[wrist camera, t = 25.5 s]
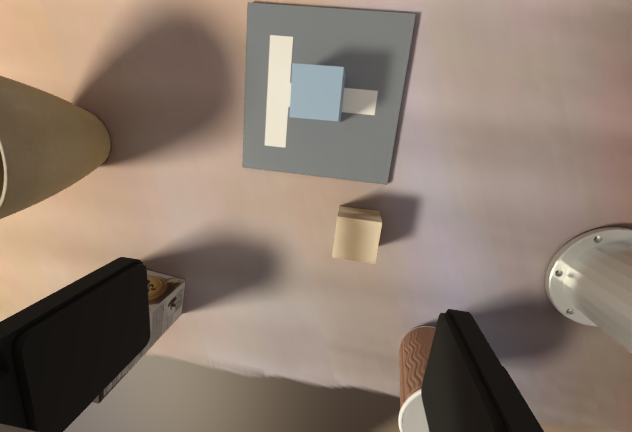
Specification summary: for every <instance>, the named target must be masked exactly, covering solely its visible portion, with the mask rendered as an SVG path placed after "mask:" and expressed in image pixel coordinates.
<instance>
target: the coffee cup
mask: <svg viewBox="0 0 632 432" xmlns="http://www.w3.org/2000/svg"><path fill="white" fill-rule="evenodd" d="M435 330H436V327H432V326H420V327H416V328H413V329H411V330H410V331H408V332H407V333H406V334H405V335H404V337H403V338H402V341H401V345H400V351H399V353H400V402H401V403H400V405H401V410H400V413H399V428H400V431H401V432H429V428H428V423H427V419H426V415H425V410H424V406H423V402H422V396H421V387H422V382H423V378H424V374H425V370H426V366H427V362H428V358H429V354H430V350H431V346H432V342H433V338H434V334H435Z"/></svg>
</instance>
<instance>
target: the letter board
mask: <svg viewBox="0 0 632 432" xmlns="http://www.w3.org/2000/svg"><path fill="white" fill-rule="evenodd" d="M415 16H416V14H412V13H397V12H383V11H368V10H353V9H338V8H324V7H309V6H294V5H279V4H264V3H250V2H248V8H247V41H246V73H245V105H244V138H243V167H244V168H252V169H260V170H269V171H277V172H285V173H294V174H302V175H310V176H319V177H327V178H335V179H344V180H352V181H360V182H369V183H377V184H385V185H387V183H388V177H389V171H390V165H391V159H392V153H393V147H394V141H395V135H396V129H397V123H398V118H399V112H400V106H401V100H402V94H403V88H404V82H405V76H406V70H407V64H408V58H409V52H410V46H411V40H412V34H413V28H414V22H415ZM292 63H296V64H310V65H324V66H338V67H344V70H345V75H346V76H345V86H344V96H343V105H342V115H341V122H333V121H322V120H311V119H299V118H292V117H289V115H290V98H291V81H292Z"/></svg>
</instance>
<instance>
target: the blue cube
mask: <svg viewBox="0 0 632 432" xmlns="http://www.w3.org/2000/svg"><path fill="white" fill-rule="evenodd" d="M345 76H346V75H345V70H344V67H338V66H324V65H310V64H296V63H292V81H291V98H290V115H289V117H292V118H299V119H311V120H322V121H333V122H341V115H342V105H343V96H344V86H345Z"/></svg>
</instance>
